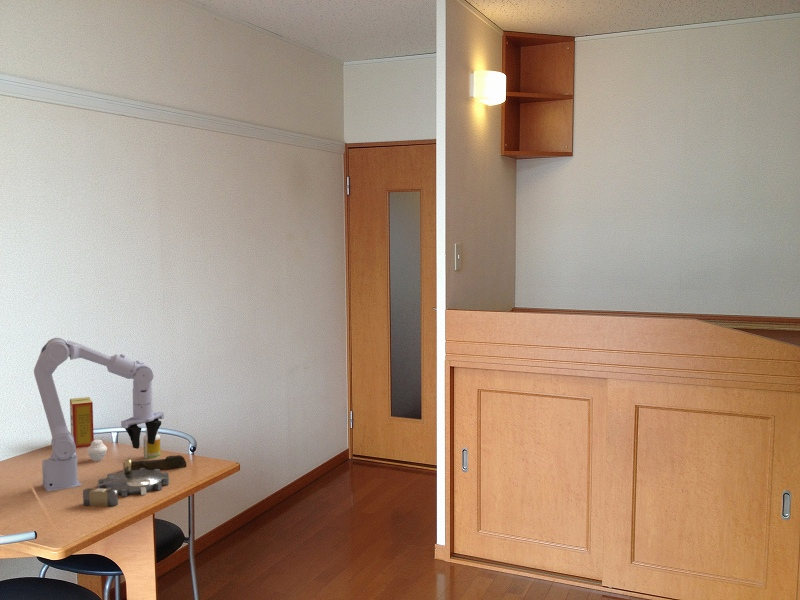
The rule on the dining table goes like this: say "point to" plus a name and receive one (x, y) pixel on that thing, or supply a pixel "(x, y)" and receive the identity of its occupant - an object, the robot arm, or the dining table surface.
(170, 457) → the dark brown rough bar
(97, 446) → the white ribbed jar
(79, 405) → the baking soda box
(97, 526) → the dining table surface
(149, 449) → the supplement bottle
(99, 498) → the cartridge fuse
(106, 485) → the sprocket
